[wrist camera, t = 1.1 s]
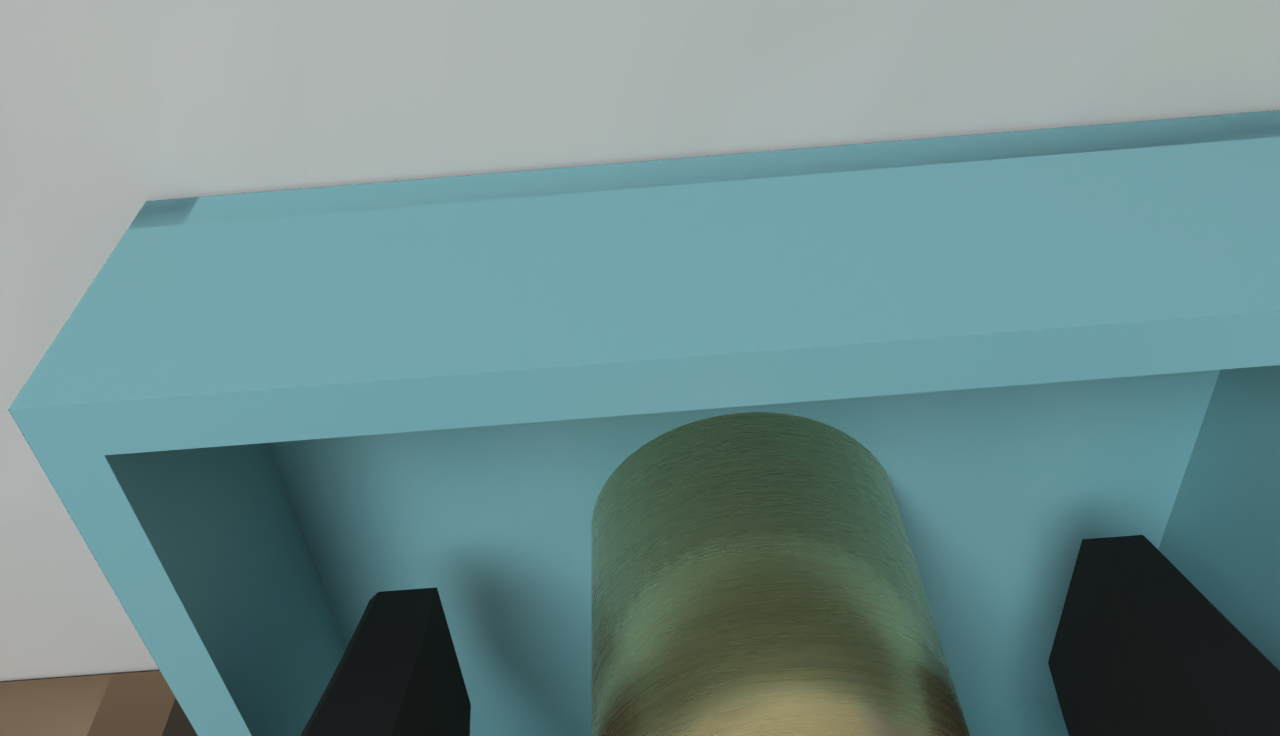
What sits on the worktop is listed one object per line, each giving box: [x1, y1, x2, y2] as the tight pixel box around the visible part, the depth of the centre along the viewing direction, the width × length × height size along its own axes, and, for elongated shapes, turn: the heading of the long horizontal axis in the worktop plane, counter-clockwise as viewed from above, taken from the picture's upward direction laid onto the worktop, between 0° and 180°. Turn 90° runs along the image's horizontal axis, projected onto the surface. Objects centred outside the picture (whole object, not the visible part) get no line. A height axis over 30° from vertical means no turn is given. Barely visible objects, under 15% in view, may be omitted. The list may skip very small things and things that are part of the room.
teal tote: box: [8, 110, 1280, 736], centre depth 11 cm, size 9×11×3 cm
